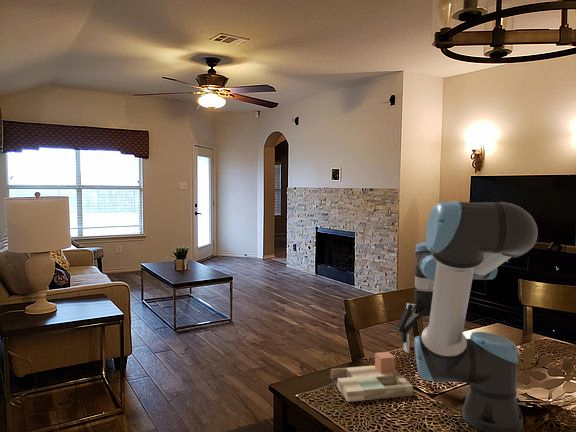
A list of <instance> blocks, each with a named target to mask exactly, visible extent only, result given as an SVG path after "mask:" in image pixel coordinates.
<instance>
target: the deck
mask: <svg viewBox="0 0 576 432" xmlns="http://www.w3.org/2000/svg"><path fill="white" fill-rule="evenodd" d="M330 379H331V380H332V381H333V383H334V385H335V386H336V387H337V389H338V390H339V392H340V393H341V395H342V396H343V397H344V399H345V400H346V402H347V403H349V402H359V401H370V400H378V399H379V400H380V399H381V398H382V399H389V398H390V397H391V398H401V397H410V396H411V397H412V396H413V395H414V388H413V387H414V386H413V385H412V383H410V382H409V381H408V380H407V379H406V378H405V377H404V376H402V374H401V373H399V372H398V371H397V370H396V369H395V372H392V373H380V372H379V371H378V370H377V369H376V368H375V364H374V365H361V366H351V367H340V368H339V367H338V368H330Z"/></svg>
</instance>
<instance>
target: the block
mask: <svg viewBox="0 0 576 432" xmlns="http://www.w3.org/2000/svg"><path fill="white" fill-rule="evenodd" d="M374 365H375V368H376V369H377V370H378V371H379V372H380V373H392V372H395V370H396V356H395V355H393V354H392V353H391V352H389V351H382V352H375V353H374Z"/></svg>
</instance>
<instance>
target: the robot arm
mask: <svg viewBox="0 0 576 432" xmlns="http://www.w3.org/2000/svg"><path fill="white" fill-rule="evenodd" d="M538 234H539V232H538V226H537V223H536V221H535V219H534V218H533V216H532V215H531V214H530V213H529V211H527V210H525V209H524V208H522V207H521V206H520V205H517V204H514V203H511V202H505V201H496V202H493V201H492V202H490V201H489V202H488V201H485V202H481V201H479V202H478V201H474V202H473V201H472V202H471V201H470V202H468V201H466V202H464V201H458V200H455V201H448V202H447V201H445V202H444V201H443V202H438V203H437V204H435V205H434V206H433V207H432V209H431V210H430V212H429V215H428V219H427V223H426V234H425V242H418V243H417V244H416V245H415V252H414V254H415V255H414V256H415V261H414V262H415V264H414V266H415V270H414V271H415V272H414V287H415V289H414V303H409V302H406V303H405V306H404V311H403V313H402V315H401V317H400V319H399V320H398V323H397V324H396V328H395V329H396V331H398V332H399V333H400V334H401V340H400V341H401V342H403V351H404V352H405V353H407V354H410V333H409V331H410V330H411V329H412V327H413V326H414V325H415V324H416V323H417V321H418V319H421V317H424V318H425V317H429V320H428V326H426V327H425V328H423V330H422V332H421V335H417V336H415V337H414V339H413V340H414V342H413V345H414V353H415V361H416V368H417V373H418V376H419V378H420V379H421V380H423V381H429V382H433V383H434V382H443V383H461V384H469V389H468V392H467V394H466V397H465V399H464V402H463V403H462V407H461V416H462V419H463V420H464V421H465V423H467V424H468V425H470V427H473V428H475V429H476V430H480V431H481V432H521V431H522V430H523V427H524V419H523V414H522V411H521V408H520V404H519V401H518V399H517V389H518V387H517V385H518V365H519V357H518V356H519V355H518V348H517V345H516V344H515V343H514V342H513V341H511V340H510V339H508V338H506V337H504V336H501V335H498V334H495V333H491V332H486V331H474V332H472V333H471V335H470V337H469V338H466V336H465V335H464V328H465V322H466V316H467V312H468V311H467V310H468V307H469V305H468V304H469V300H470V295H471V289H472V283H473V280H480V281H481V280H482V281H485V280H494V279H495V278H496V277H497V275H498V270H499V269H498V267H500V266H501V265H502V264H504V263H505V262H506V261H508V260H510V259H511V258H518V257H521V256H523V255H525V254H526V253H528V252H529V251H530V250H531V249H533V247H534V246H535V245H536V242H537V240H538ZM413 310H414V311H413ZM411 314H412V315H411Z"/></svg>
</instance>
